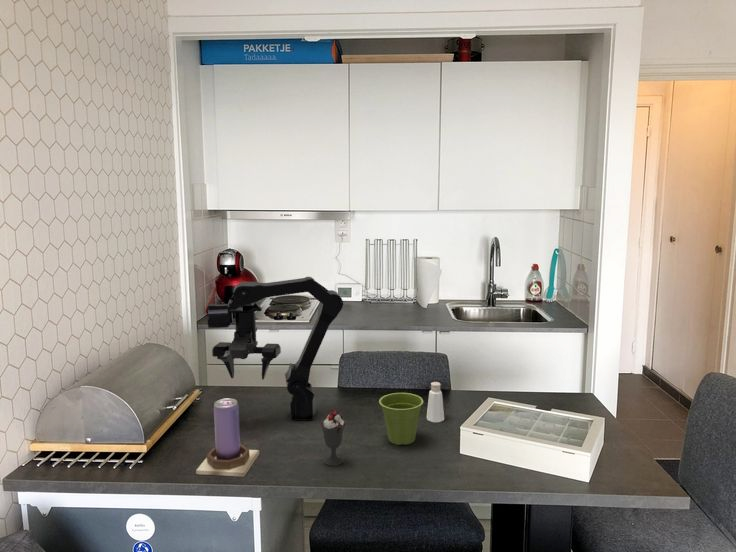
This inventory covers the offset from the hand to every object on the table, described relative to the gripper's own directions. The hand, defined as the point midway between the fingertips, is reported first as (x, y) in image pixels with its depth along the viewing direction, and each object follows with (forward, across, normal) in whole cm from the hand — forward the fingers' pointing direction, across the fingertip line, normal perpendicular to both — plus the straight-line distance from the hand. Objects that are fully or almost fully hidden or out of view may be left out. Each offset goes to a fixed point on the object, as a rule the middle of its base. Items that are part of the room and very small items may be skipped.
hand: (247, 378), depth 175 cm
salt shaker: (+13, +54, +7) cm, 56 cm away
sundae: (+13, +29, -22) cm, 39 cm away
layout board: (+13, +3, -26) cm, 29 cm away
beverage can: (+12, +3, -26) cm, 29 cm away
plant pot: (+13, +45, -8) cm, 48 cm away
